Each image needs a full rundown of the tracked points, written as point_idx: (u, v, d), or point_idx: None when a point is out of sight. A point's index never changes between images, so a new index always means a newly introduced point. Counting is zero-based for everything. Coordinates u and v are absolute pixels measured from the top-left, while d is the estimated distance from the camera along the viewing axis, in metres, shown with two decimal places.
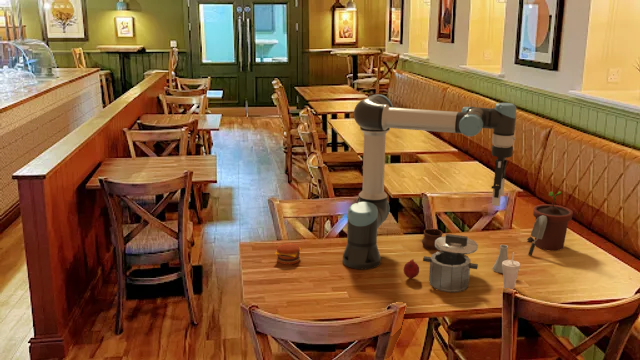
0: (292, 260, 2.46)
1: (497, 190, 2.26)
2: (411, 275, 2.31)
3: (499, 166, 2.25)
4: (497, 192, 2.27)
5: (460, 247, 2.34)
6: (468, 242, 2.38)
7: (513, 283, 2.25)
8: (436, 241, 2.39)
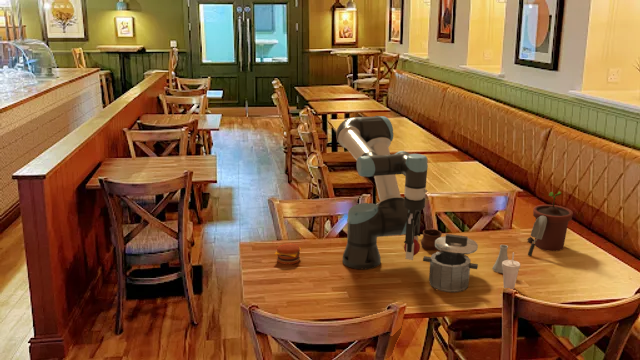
0: (292, 260, 2.46)
1: (409, 245, 2.26)
2: None
3: (409, 223, 2.22)
4: (409, 247, 2.26)
5: (460, 247, 2.34)
6: (468, 242, 2.38)
7: (513, 283, 2.25)
8: (436, 241, 2.39)
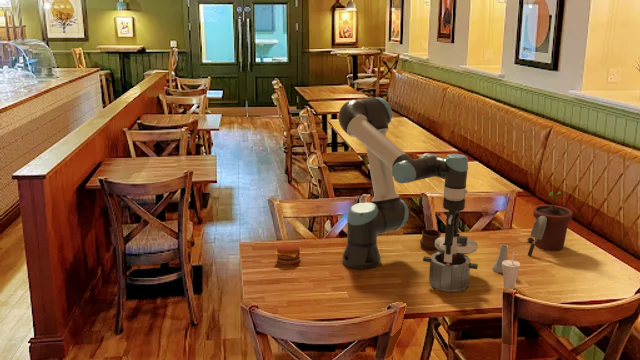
0: (292, 260, 2.46)
1: (448, 247, 2.19)
2: None
3: (449, 223, 2.17)
4: (449, 249, 2.20)
5: (460, 247, 2.34)
6: (468, 242, 2.39)
7: (513, 283, 2.25)
8: (436, 241, 2.40)
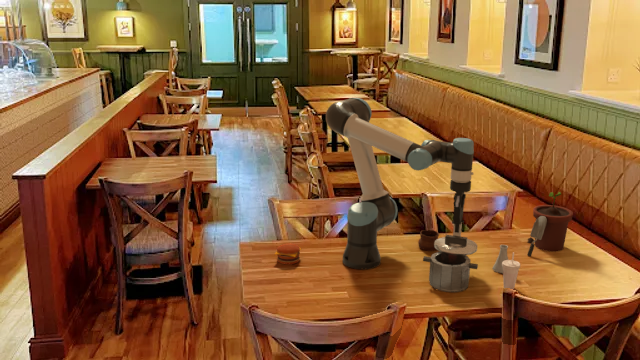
0: (292, 260, 2.46)
1: (457, 225, 2.34)
2: None
3: (457, 206, 2.29)
4: (457, 227, 2.35)
5: (460, 248, 2.33)
6: (468, 243, 2.38)
7: (513, 283, 2.25)
8: (436, 242, 2.39)
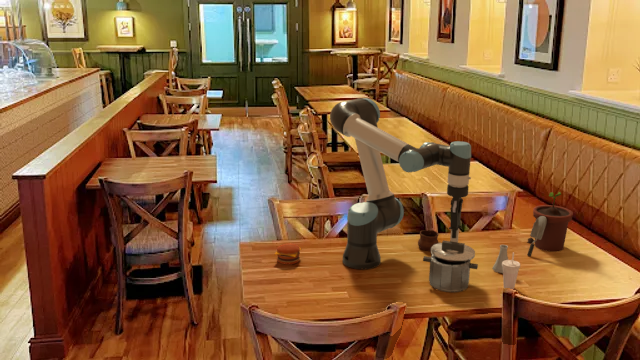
0: (292, 260, 2.46)
1: (454, 231, 2.29)
2: None
3: (454, 211, 2.23)
4: (454, 233, 2.29)
5: (457, 254, 2.27)
6: (465, 249, 2.32)
7: (513, 283, 2.25)
8: (432, 248, 2.33)
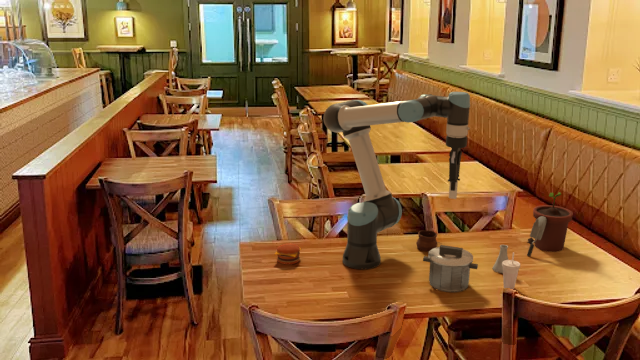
0: (292, 260, 2.46)
1: (453, 183, 2.27)
2: None
3: (452, 162, 2.21)
4: (453, 185, 2.27)
5: (455, 259, 2.23)
6: (463, 254, 2.28)
7: (513, 283, 2.25)
8: (430, 252, 2.29)
